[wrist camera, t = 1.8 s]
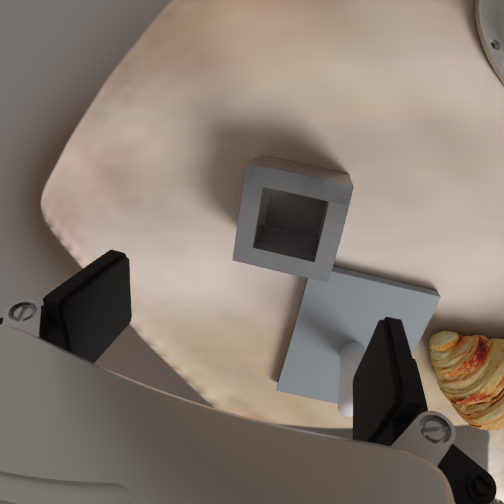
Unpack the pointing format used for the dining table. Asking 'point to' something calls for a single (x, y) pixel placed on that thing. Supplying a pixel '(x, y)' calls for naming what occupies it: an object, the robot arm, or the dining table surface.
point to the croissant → (471, 376)
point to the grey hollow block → (283, 241)
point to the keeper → (347, 331)
